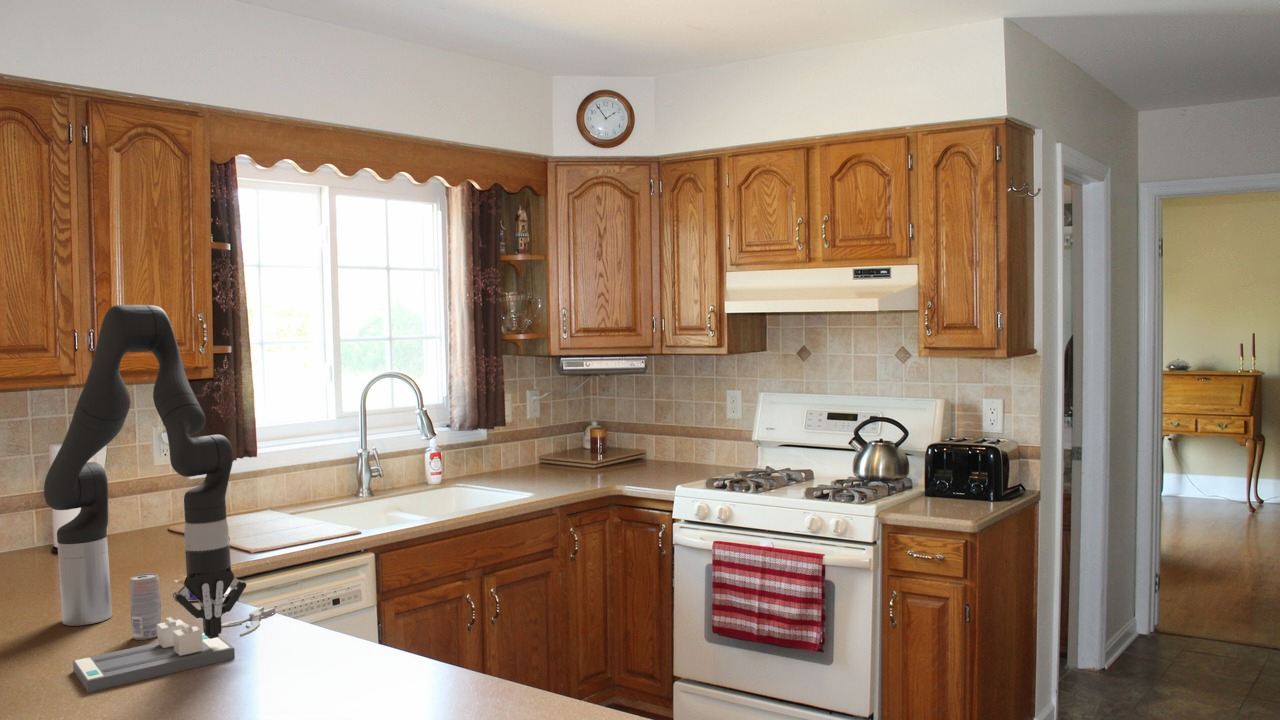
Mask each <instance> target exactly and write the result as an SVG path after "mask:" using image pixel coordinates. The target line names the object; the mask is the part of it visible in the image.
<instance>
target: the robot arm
mask: <svg viewBox="0 0 1280 720" xmlns="http://www.w3.org/2000/svg"><path fill="white" fill-rule="evenodd" d="M98 333H99V334H98V338H97V341H96V345H95V350H94V354H93V359H92V362H91V366H90V367H89V368H90V369H89V372H88V375H87V378H86V380H85V383H84V386H83V388H82V390H81V393H80V395H79V398H78V400H77V403H76V406H75V408H74V411H73V415H72V418H71V422H70V424H69V426H68V430H67V433H66V435H65V437H64V439H63V441H62V444H61V446H60V448H59V449H58V451H57V454H56V455H55V458H54V459H53V462H52V463H51V465H50V467H49V468H48V469H49V470H48V471H47V473H46V475H45V481H44V485H43V497H44V500H45V501H44V502H45V503H46V505H47V507H49V508H51V509H52V510H55V511H68V510H69V511H70V510H75V509H80V511H79V513H78V514H77V515H76V516H75V517H74V518H73V519H72V520H70V521H68V522H67V523H65V524H63V525H62V526H60V527H59V528H58V529H57V530H56V541H57V556H58V570H59V584H60V585H59V587H60V601H61V616H62V617H61V618H62V619H61V620H62V624H63V625H64V626H70V627H72V626H73V627H74V626H76V627H77V626H87V625H91V624H96V623H100V622H103V621H106V620H108V619H110V618H112V617H113V612H112V611H113V610H112V609H113V608H112V590H111V577H110V575H111V574H110V561H109V548H108V547H109V546H108V545H109V544H108V524H109V484H108V477H107V473H106V470H105V469H104V467H103V466H102V464H100V463H98V462H96V461H90V459H91V458H93V457H94V456H95V455H97V453H99V452H100V451H101V450H102V449H103V448H105V447H106V446H107V445H109V443H111V441H113V440H114V439H115V438H116V437H117V436H118V435H119V433H120V432H121V430H122V428H123V426H124V423H125V421H126V419H127V417H128V414H129V411H130V409H131V404H132V403H131V402H132V401H131V395H130V392H129V390H128V387H127V385H126V383H125V381H124V379H123V378H122V375H121V373H120V366H121V362H122V359H123V357H124V356H125V355H126V354H128V353H151V352H152V354H153V355H154V356H155V358H156V359H157V361H158V372H157V375H156V378H155V382H154V386H153V391H152V396H153V397H152V398H153V404H154V406H155V409H156V411H157V413H158V415H159V416H158V417H159V418H160V419H161V421H162V424H163V426H164V428H165V432H166V436H167V441H168V447H169V448H168V450H169V460H170V464H171V467H172V469H173V470H174V471H175V473H177V474H178V475H179V476H182V477H185V478H191V477H197V476H204V475H205V478H204V480H203V482H202V483H201V484H200V485H198V486H195V487H194V488H191V489H189V490H188V491H186V492H185V493H184V496H183V507H184V509H183V510H184V511H183V512H184V537H183V538H184V549H185V550H184V552H185V553H184V554H185V568H186V569H185V570H186V577H185V579H184V582H183V584H184V585H183V586H182V587H181V588H180V589H179V590H178V591H175V592H174V593H173V594H172V598H173V599H174V600H175V601H176V602H177V603H179V604H180V605H181V606H182V607H183V608H184V609H185V610H186V611H187V612H188V613H190V615H192V616H193V617H194V618H195V619H202V627H203V629H202V632H203V631H204V634H205V635H206V636H208V638H209V639H212V638H217V637H219V636H220V635H219V634H222V632H223V630H222V629H223V627H222V626H221V624H222V616H223V615H224V614H226V613H229V612H231V611H232V609H233V608H234V606H235V605H236V603H237V601H238V600H239V598H240V597H241V595H242V594H243V592H244V590H245V589H246V587H247V582H244V581H243V580H241V579H238V578H236V577H235V574H234V572H233V571H232V565H231V564H232V563H231V546H230V542H231V536H230V532H229V530H230V529H229V525H228V519H227V503H226V495H227V491H228V486H229V479H230V475H231V471H232V467H233V463H234V449H233V446H232V443H231V442H230V440H229V439H228V438H227V437H226V436H224V435H222V434H210V435H202V436H194V435H196V434H197V433H199V432H200V431H202V429H203V428H204V427H205V425H206V422H207V421H206V420H207V419H206V416H205V413H204V411H203V409H202V407H201V405H200V403H199V401H198V399H197V397H196V395H195V393H194V391H193V388H192V386H191V385H190V382H189V380H188V377H187V374H186V370H185V367H184V362H183V359H182V357H181V356H182V355H181V352H180V348H179V345H178V343H177V338H176V336H175V332H174V329H173V326H172V323H171V320H170V318H169V316H168V314H167V313H166V311H165V310H164V309H163V308H162V307H160V306H158V305H152V304H116V305H113V306H111V307H110V308H108V310H107V311H106V312H105V314H104V316H103V319H102V322H101V325H100V330H99V332H98ZM192 436H193V437H192ZM88 461H89V462H88ZM229 587H230V588H231V591H230V592H229V593H228V594H226V597H225V599H223V598H224V597H223V595H224V594H225V593H226V591H227V589H228V588H229ZM188 591H190V592H191V593H192V594H193V595H194V596H195V597H196V598H197V599H198V600H199V601H198V602H199V603H198V604H199V606H200V607H199V608H196V606H195V605H193V604H192V603H191V601H188V600H189V594H188ZM224 596H225V595H224Z"/></svg>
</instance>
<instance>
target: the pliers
mask: <svg viewBox="0 0 1280 720" xmlns="http://www.w3.org/2000/svg"><path fill="white" fill-rule="evenodd" d="M276 612H277V611H276V607H271V608H268V609H265V606H260V607H258V608H256V609H254V610H252V611H251V612H249V614H248V616H249V617H245V618H241V619H236V620H231V621H225V622H223V623H222V622H221V626H222V628H228V627H235V626H241V625H242V624H243V623H245V627H246V628H247V629H246V630H244V631H243V632H241V633H239V636H240V637H243V635H244V636H246V635H248V634H250V633H253V632H254V631H256V630H257V629H258V628H259V627H260V625H261V620H262V619H266V618H268V617H270V616H272V615H274V614H275V615H276ZM272 613H273V614H272ZM248 621H251V625H249V624H248ZM202 633H204V631H203V630H202Z"/></svg>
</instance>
